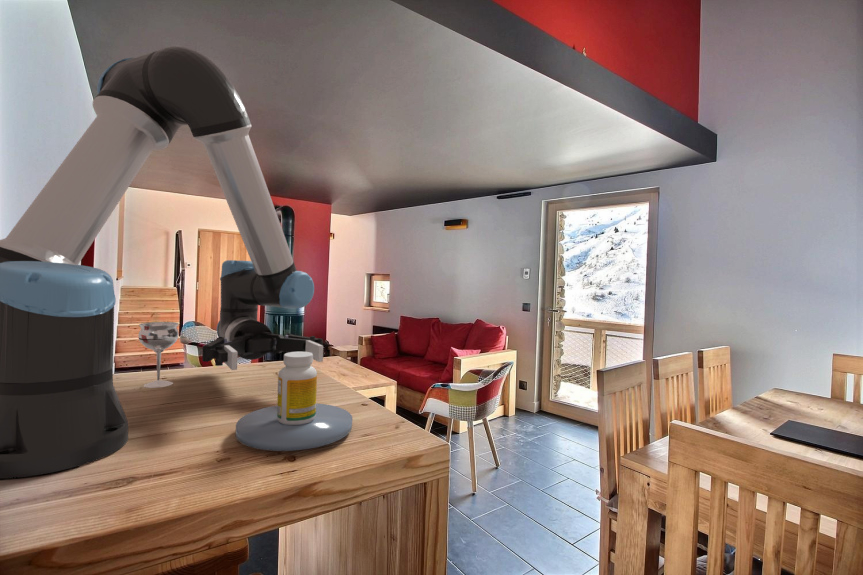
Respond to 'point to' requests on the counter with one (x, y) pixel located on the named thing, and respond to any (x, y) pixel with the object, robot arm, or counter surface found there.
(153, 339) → the wineglass
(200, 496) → the counter surface
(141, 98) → the robot arm
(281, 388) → the supplement bottle
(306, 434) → the slate dish
